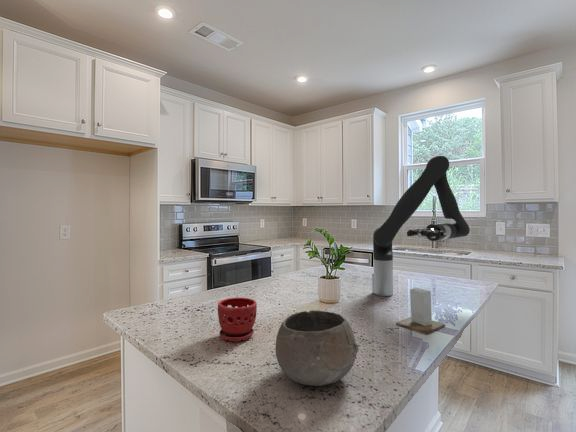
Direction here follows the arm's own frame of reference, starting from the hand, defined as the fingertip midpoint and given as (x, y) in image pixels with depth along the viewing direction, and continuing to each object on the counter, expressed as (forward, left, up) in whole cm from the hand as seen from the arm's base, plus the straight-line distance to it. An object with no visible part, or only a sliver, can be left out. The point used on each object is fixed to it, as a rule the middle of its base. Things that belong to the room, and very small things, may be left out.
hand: (417, 234), depth 130 cm
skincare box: (+9, -13, -31) cm, 35 cm away
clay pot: (+12, -66, -32) cm, 74 cm away
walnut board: (+9, -13, -32) cm, 36 cm away
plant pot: (-24, -70, -32) cm, 81 cm away
